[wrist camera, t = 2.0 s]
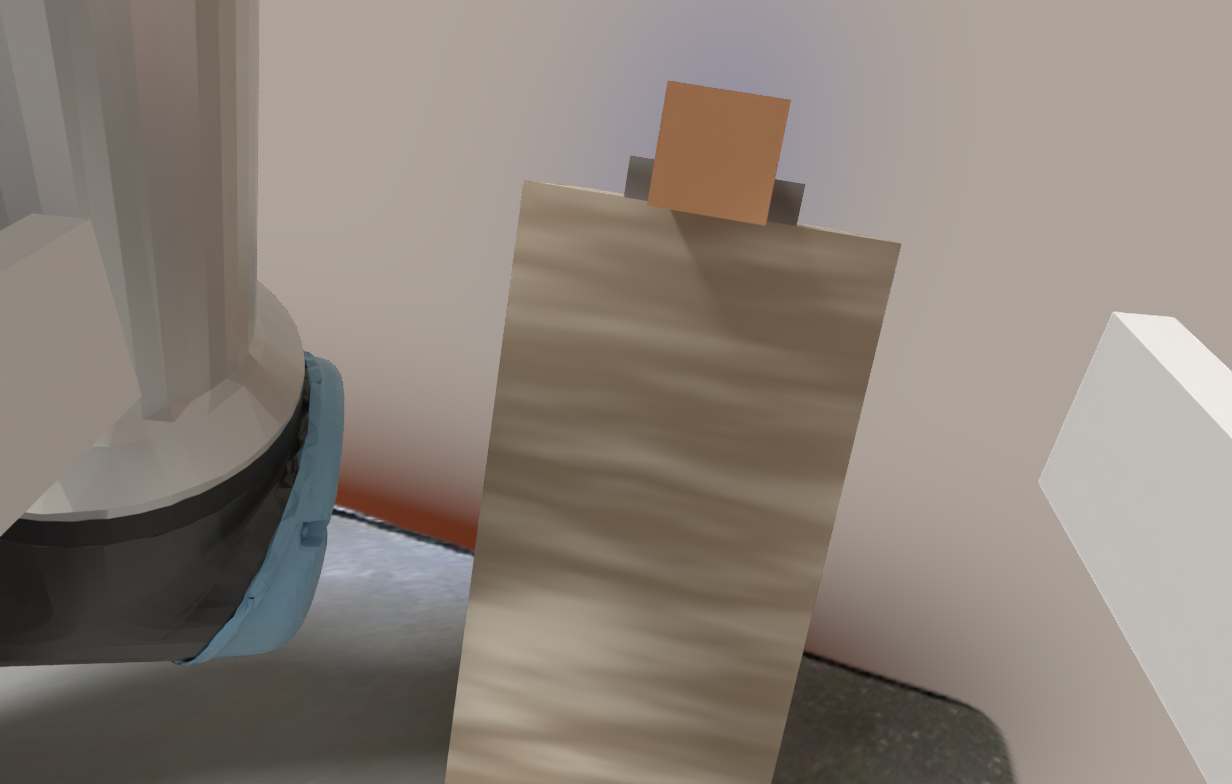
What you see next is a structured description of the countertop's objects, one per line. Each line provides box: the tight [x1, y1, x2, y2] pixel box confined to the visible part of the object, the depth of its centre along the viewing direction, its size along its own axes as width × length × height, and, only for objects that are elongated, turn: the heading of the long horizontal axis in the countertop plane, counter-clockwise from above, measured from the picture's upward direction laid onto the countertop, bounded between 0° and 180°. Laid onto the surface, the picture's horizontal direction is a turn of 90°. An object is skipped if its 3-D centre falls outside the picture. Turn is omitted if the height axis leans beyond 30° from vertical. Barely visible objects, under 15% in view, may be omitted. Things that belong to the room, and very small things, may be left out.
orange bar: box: [647, 81, 791, 226], centre depth 33 cm, size 26×3×3 cm, turn 173°
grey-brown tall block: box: [444, 156, 901, 784], centre depth 41 cm, size 14×14×32 cm
